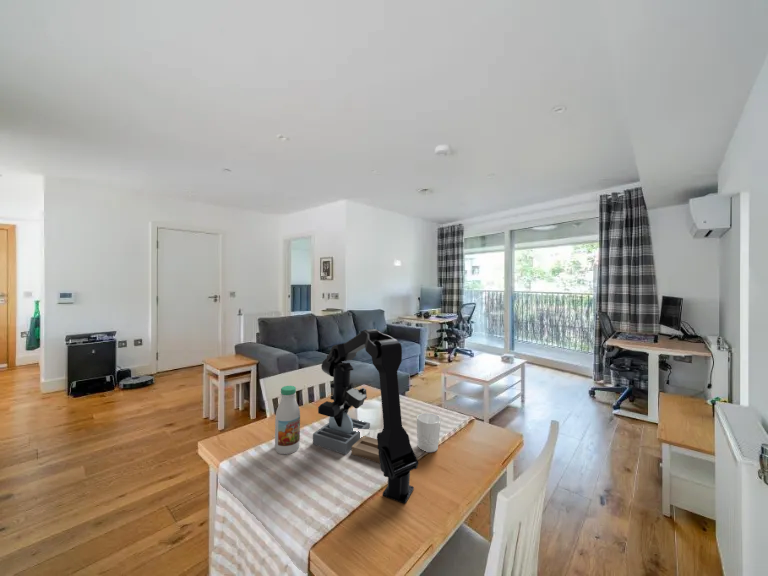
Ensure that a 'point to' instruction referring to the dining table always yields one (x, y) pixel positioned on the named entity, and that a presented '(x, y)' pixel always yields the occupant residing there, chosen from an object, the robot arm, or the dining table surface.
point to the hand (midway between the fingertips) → (340, 425)
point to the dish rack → (338, 437)
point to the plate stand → (366, 449)
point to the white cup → (428, 431)
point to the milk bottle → (287, 422)
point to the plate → (346, 424)
